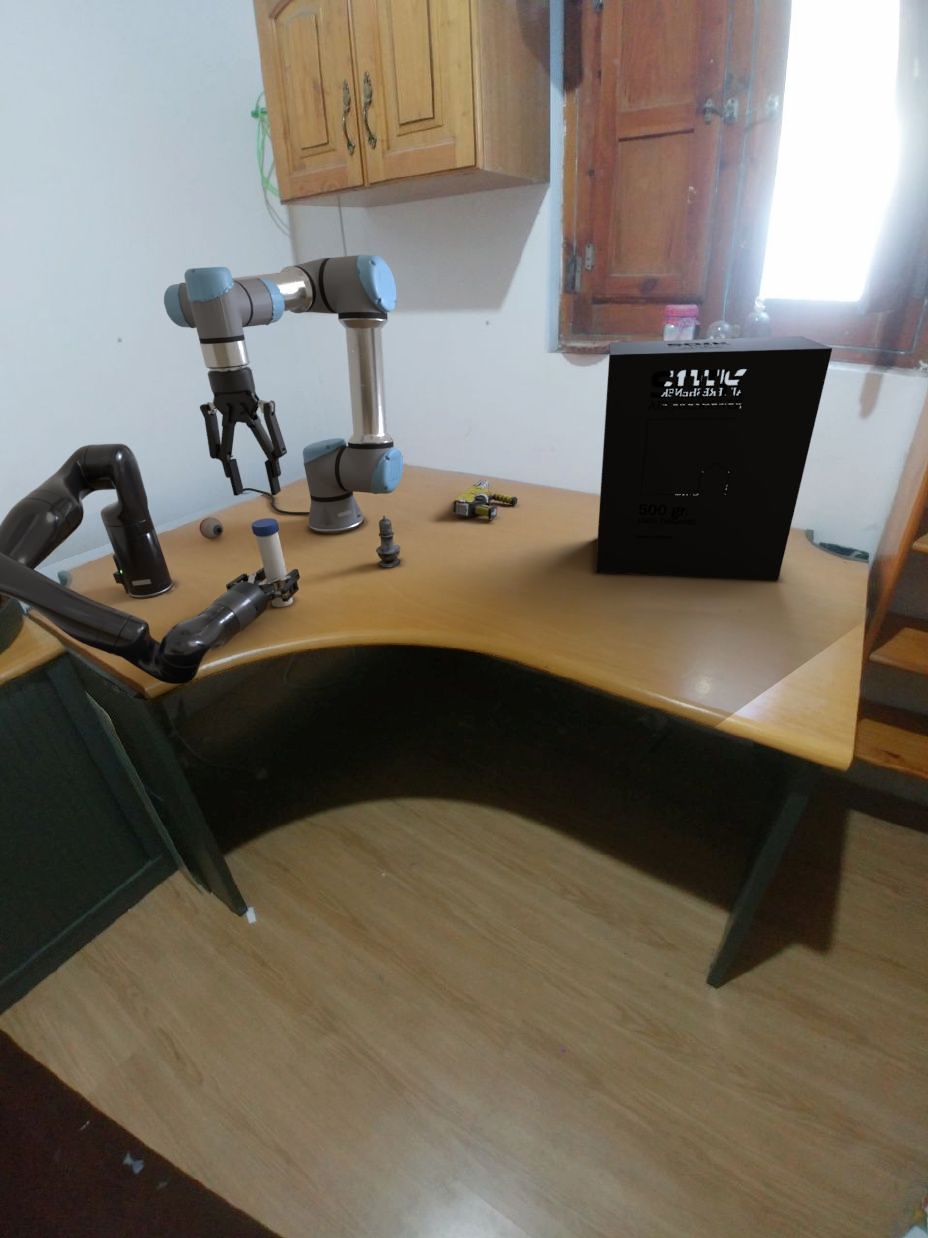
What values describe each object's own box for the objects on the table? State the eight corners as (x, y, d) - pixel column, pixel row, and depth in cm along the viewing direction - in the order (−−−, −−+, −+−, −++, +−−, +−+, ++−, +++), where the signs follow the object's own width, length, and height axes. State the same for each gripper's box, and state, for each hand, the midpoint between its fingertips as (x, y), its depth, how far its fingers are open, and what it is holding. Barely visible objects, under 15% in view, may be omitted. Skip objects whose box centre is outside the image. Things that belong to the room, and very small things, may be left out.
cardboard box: (758, 542, 144) (801, 336, 122) (778, 580, 127) (832, 348, 105) (597, 537, 152) (610, 342, 129) (595, 572, 135) (610, 354, 112)
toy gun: (525, 484, 182) (478, 477, 186) (503, 508, 162) (451, 499, 166) (524, 500, 184) (477, 492, 188) (502, 525, 164) (450, 516, 168)
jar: (276, 597, 133) (258, 520, 124) (295, 597, 132) (278, 520, 123) (269, 607, 129) (250, 528, 120) (288, 607, 128) (270, 528, 119)
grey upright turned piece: (398, 568, 142) (392, 520, 136) (374, 567, 143) (367, 519, 137) (405, 558, 147) (399, 511, 141) (382, 557, 148) (376, 510, 142)
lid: (259, 527, 125) (257, 518, 124) (283, 526, 124) (281, 517, 123) (249, 536, 120) (246, 527, 119) (273, 536, 120) (271, 527, 119)
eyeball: (213, 544, 161) (207, 523, 158) (198, 540, 164) (191, 520, 161) (231, 536, 165) (225, 516, 162) (216, 533, 168) (210, 512, 165)
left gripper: (210, 622, 119) (257, 584, 133) (274, 629, 115) (315, 589, 129) (200, 588, 115) (249, 553, 129) (265, 594, 112) (309, 557, 125)
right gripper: (290, 362, 109) (312, 486, 120) (187, 366, 111) (219, 487, 123) (273, 368, 102) (299, 499, 114) (165, 373, 105) (200, 499, 116)
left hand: (282, 571), depth 129 cm, fingers open, 6 cm apart
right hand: (257, 493), depth 118 cm, fingers open, 7 cm apart
